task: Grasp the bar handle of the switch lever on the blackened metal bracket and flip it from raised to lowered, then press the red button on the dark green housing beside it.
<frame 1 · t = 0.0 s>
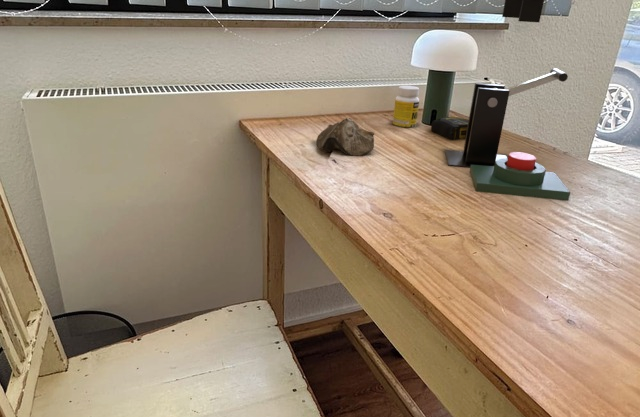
hand: (519, 19, 75), 22 cm above the table, tool pointing down, fingers open, 13 cm apart
supplement bottle: (403, 130, 99), on the table
tape measure: (450, 141, 94), on the table
red button: (521, 162, 68), point 4 cm above the table, slide at 0.1 cm
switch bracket: (476, 166, 80), on the table
switch lever: (520, 87, 74), point 13 cm above the table, hinge at 25.0°
fossilized seashell: (343, 154, 83), on the table
button box: (514, 191, 70), on the table
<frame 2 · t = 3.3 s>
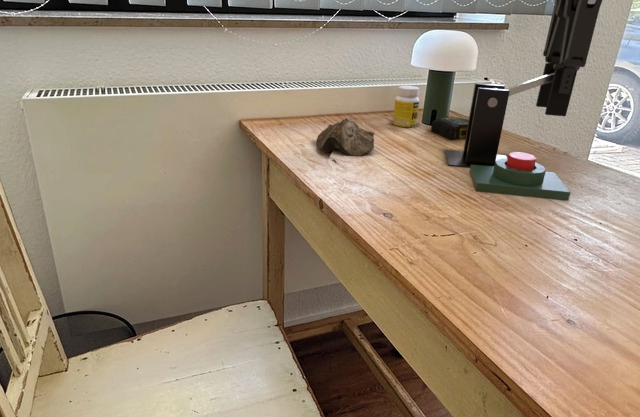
hand: (550, 110, 74), 10 cm above the table, tool pointing down, fingers closed on switch lever, 5 cm apart
switch lever: (520, 87, 74), point 13 cm above the table, hinge at 25.0°, touching gripper
everything else where it was.
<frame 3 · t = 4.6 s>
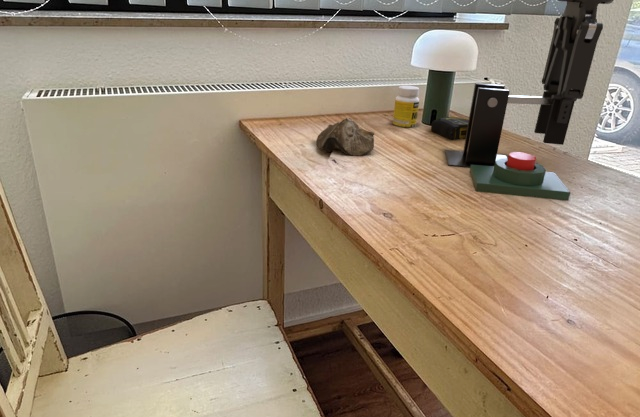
hand: (548, 137, 76), 6 cm above the table, tool pointing down, fingers closed on switch lever, 5 cm apart
switch lever: (521, 99, 74), point 11 cm above the table, hinge at 2.4°, touching gripper
everything else where it was.
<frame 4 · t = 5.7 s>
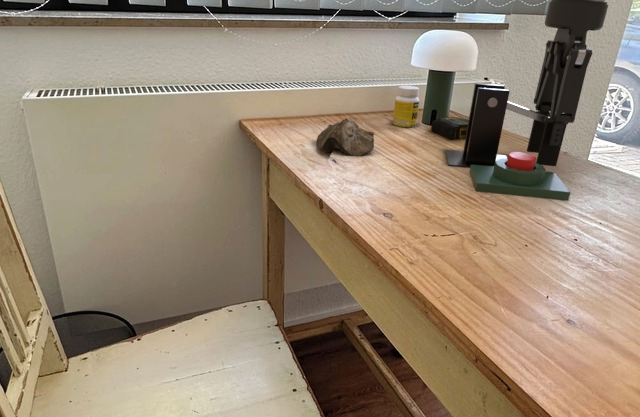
hand: (540, 157, 77), 2 cm above the table, tool pointing down, fingers open, 6 cm apart
switch lever: (517, 109, 75), point 10 cm above the table, hinge at -15.7°
everything else where it was.
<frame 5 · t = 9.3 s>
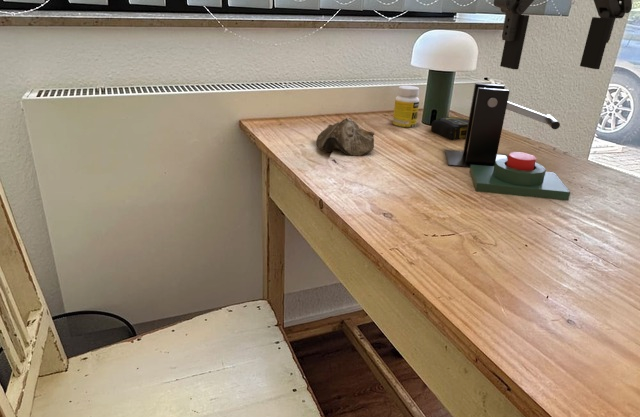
hand: (550, 68, 66), 17 cm above the table, tool pointing down, fingers open, 13 cm apart
nothing on the table moved.
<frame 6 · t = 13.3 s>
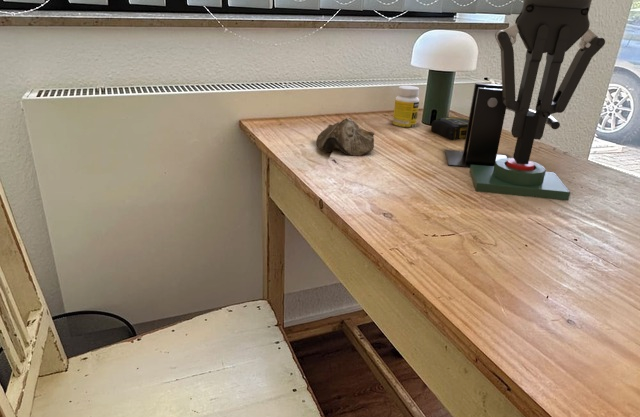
hand: (520, 160, 68), 5 cm above the table, tool pointing down, fingers closed
red button: (519, 168, 69), point 4 cm above the table, slide at -0.8 cm, touching gripper
everything else where it was.
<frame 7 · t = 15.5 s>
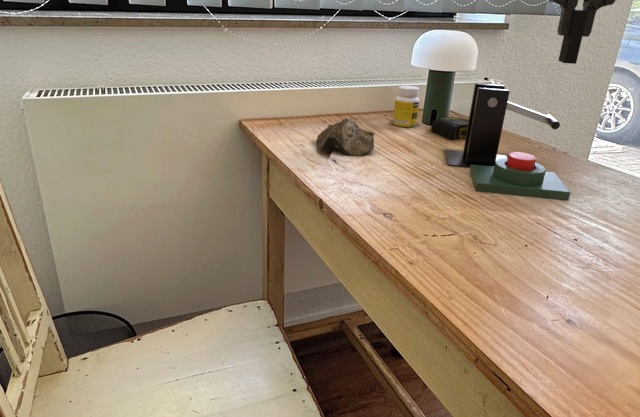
hand: (567, 62, 66), 18 cm above the table, tool pointing down, fingers closed
red button: (521, 162, 68), point 4 cm above the table, slide at 0.1 cm
everything else where it was.
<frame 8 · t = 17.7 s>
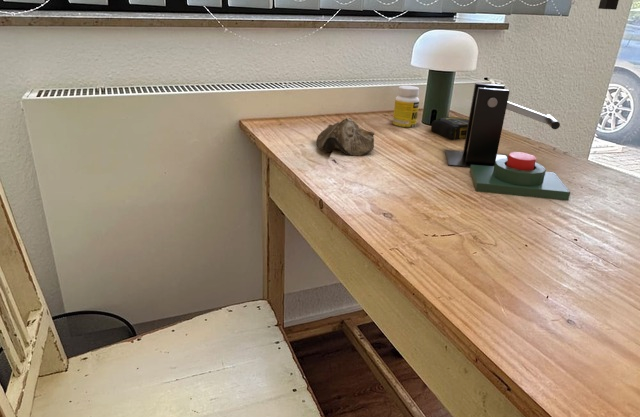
hand: (607, 8, 69), 24 cm above the table, tool pointing down, fingers closed
nothing on the table moved.
at the end: switch lever at -16° (first picture: +25°); red button pushed in 1.0 cm at the most during the clip, back to where it started at the end; red button slide at 0.1 cm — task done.
